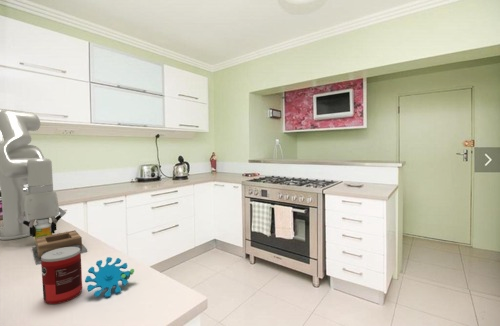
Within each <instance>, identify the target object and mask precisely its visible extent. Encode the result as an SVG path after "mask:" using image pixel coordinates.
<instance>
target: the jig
mask: <svg viewBox="0 0 500 326" xmlns="http://www.w3.org/2000/svg"><path fill="white" fill-rule="evenodd" d="M82 238H83V237H82V236H81V235H80V234H79V233H78V232H77V230H76V229H75V230H70V231H65V232H60V233H53V234H52V235H49V236H43V237H38V238H36V244H35V247H36V250H37V253H38V256H39V258H41V256H42V255H43V252H45V251H49V250H53V249H58V248H62V247H66V246H71V245H75V244H79V245H80V249H81V248H82V244H83V240H82Z"/></svg>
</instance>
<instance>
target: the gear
mask: <svg viewBox="0 0 500 326" xmlns="http://www.w3.org/2000/svg"><path fill="white" fill-rule="evenodd" d="M112 261H113V258H112V257H111V256H109V257H108V256H107V257H106V260H105V262H106V263H105V265H104V266H102V264H103V260H102V259H100V260H97V261H96V262H95V263H96V266H97V268H98V271H95V266H91V267H90V268H88V271H87V272H88V273H89V274H91V275H94V276H95V277H94V278H93V277H92V276H91V275H87V276H86V277H85V279H84V282H85V283H94V284H95V285H93V284H88V285H87V286H86V287H87V290H86V291H87V292H91V291H93V290H94V289H96V288H97V289H98V288H101V289H98V290H95V291H94V293H93V295H94V296H95V298H99V297H100V296H101V293H102V292H103V291H104V290H107V289H108V290H107V291H106V292H104V298H110V297H111V295H112V293H111V291H112V288H113V287H115V289H114V293H115V294H118V293H119V294H120V292H121V291H122V288H121V287H120V286H119V281H120V282H121V285H122V286H123V287H125V286H127V284H128V283H129V279H130V277H131V276H132V275H133V274H134V272H135V269H134V268H131V269H130V270H126V269H128V263H127V262H124V263H122V259H121V258H119V257H117V258H116V259H115V261H114V262H113V263H111V262H112ZM110 263H111V264H110ZM120 263H122V264H121V265H120ZM118 264H119V265H118ZM117 265H118V266H117ZM120 269H123V270H124V271H123V270H120ZM125 270H126V271H125Z"/></svg>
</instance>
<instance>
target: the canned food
mask: <svg viewBox="0 0 500 326" xmlns="http://www.w3.org/2000/svg"><path fill="white" fill-rule="evenodd" d="M40 265H41V266H40V267H41V280H42V281H41V282H42V295H43V296H42V297H43V300H44V302H45V303H46V304H49V305H55V304H62V303H65V302H68V301H71V300H72V299H74V298H76V297H77V296H79V295H80V294H81V292H82V289H83V276H82V253H81V251H80V248H78V247H64V248H59V249H55V250H52V251H49V252H47V253H45V254H43V255H42V256H41V264H40Z"/></svg>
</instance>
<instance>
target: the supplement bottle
mask: <svg viewBox="0 0 500 326" xmlns="http://www.w3.org/2000/svg"><path fill="white" fill-rule="evenodd" d="M35 223H36V224H35V225H34V227H35V237H34V244H35V245H36V238H38V237H43V236H49V235H53V233H52V224H51V223H52V222H50V218H44V219H37V220H35Z"/></svg>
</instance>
